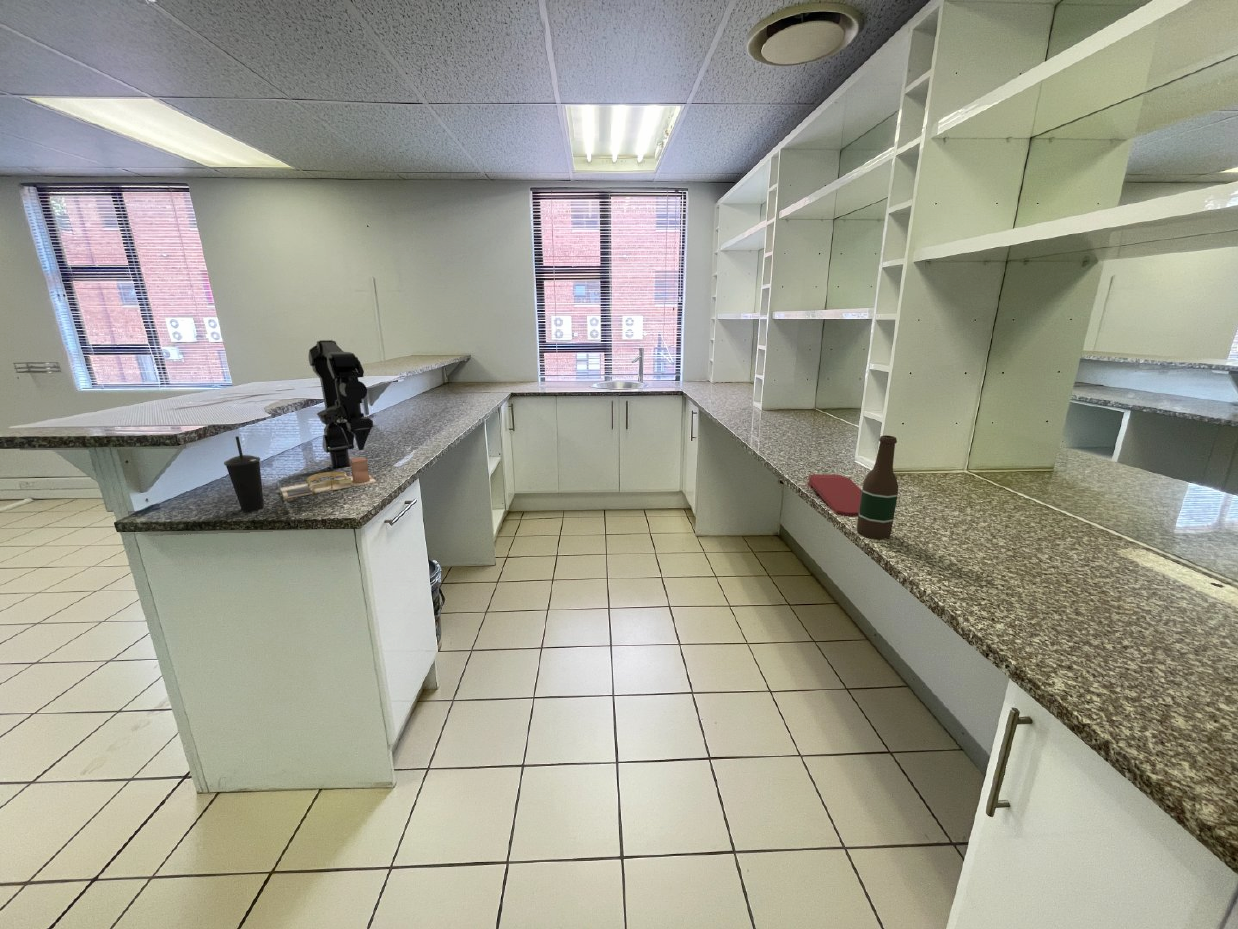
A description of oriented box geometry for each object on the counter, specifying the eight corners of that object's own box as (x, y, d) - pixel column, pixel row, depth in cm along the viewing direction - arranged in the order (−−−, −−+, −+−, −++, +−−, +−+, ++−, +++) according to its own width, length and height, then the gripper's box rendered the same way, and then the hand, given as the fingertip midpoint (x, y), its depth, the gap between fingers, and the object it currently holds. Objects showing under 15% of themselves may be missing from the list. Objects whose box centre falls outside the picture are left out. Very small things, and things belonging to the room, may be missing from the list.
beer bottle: (897, 540, 112) (915, 440, 105) (863, 540, 112) (879, 440, 106) (881, 527, 119) (897, 433, 113) (849, 526, 120) (863, 432, 113)
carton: (880, 528, 129) (839, 485, 152) (884, 512, 127) (842, 471, 149) (835, 528, 129) (801, 485, 151) (839, 512, 127) (804, 471, 149)
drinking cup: (241, 505, 132) (225, 434, 127) (273, 502, 135) (259, 432, 129) (230, 515, 125) (212, 440, 120) (265, 511, 128) (249, 438, 122)
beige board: (280, 491, 144) (279, 487, 144) (368, 476, 159) (367, 472, 158) (285, 502, 135) (284, 497, 135) (377, 485, 150) (377, 481, 149)
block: (352, 480, 151) (349, 458, 149) (366, 478, 153) (363, 456, 151) (355, 483, 148) (352, 461, 146) (369, 481, 150) (366, 459, 149)
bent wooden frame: (306, 483, 148) (304, 475, 147) (345, 477, 154) (343, 469, 154) (312, 493, 139) (311, 485, 138) (353, 486, 145) (352, 478, 145)
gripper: (308, 395, 144) (317, 445, 148) (327, 403, 131) (336, 458, 136) (349, 392, 151) (356, 440, 156) (370, 399, 139) (377, 451, 143)
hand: (355, 447), depth 147 cm, fingers open, 9 cm apart
